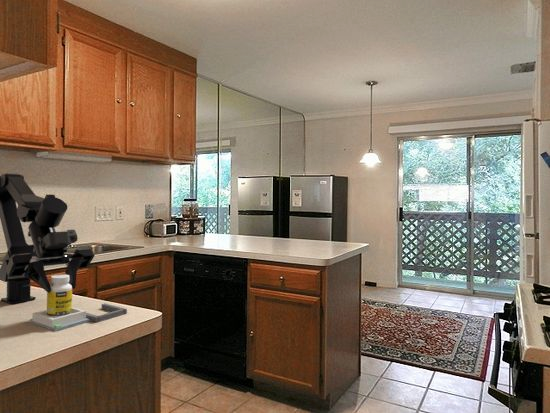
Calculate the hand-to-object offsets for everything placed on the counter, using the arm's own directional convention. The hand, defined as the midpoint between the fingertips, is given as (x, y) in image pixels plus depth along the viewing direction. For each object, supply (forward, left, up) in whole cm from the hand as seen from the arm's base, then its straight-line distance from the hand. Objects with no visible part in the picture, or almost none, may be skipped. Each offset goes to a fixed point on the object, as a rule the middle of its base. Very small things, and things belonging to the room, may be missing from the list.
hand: (62, 289), depth 95 cm
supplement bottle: (-1, 0, -7) cm, 7 cm away
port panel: (-1, 0, -8) cm, 8 cm away
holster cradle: (+2, +9, -8) cm, 13 cm away
